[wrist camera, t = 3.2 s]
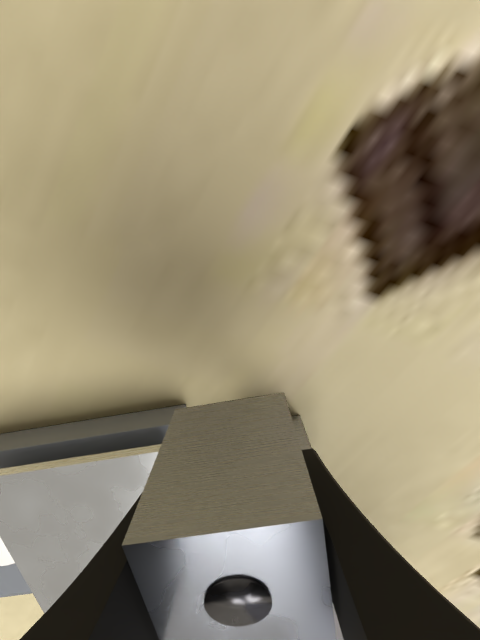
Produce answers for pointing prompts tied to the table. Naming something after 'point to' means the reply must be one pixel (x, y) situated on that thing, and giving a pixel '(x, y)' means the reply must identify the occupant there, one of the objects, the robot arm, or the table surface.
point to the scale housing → (74, 442)
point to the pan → (67, 513)
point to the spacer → (232, 529)
